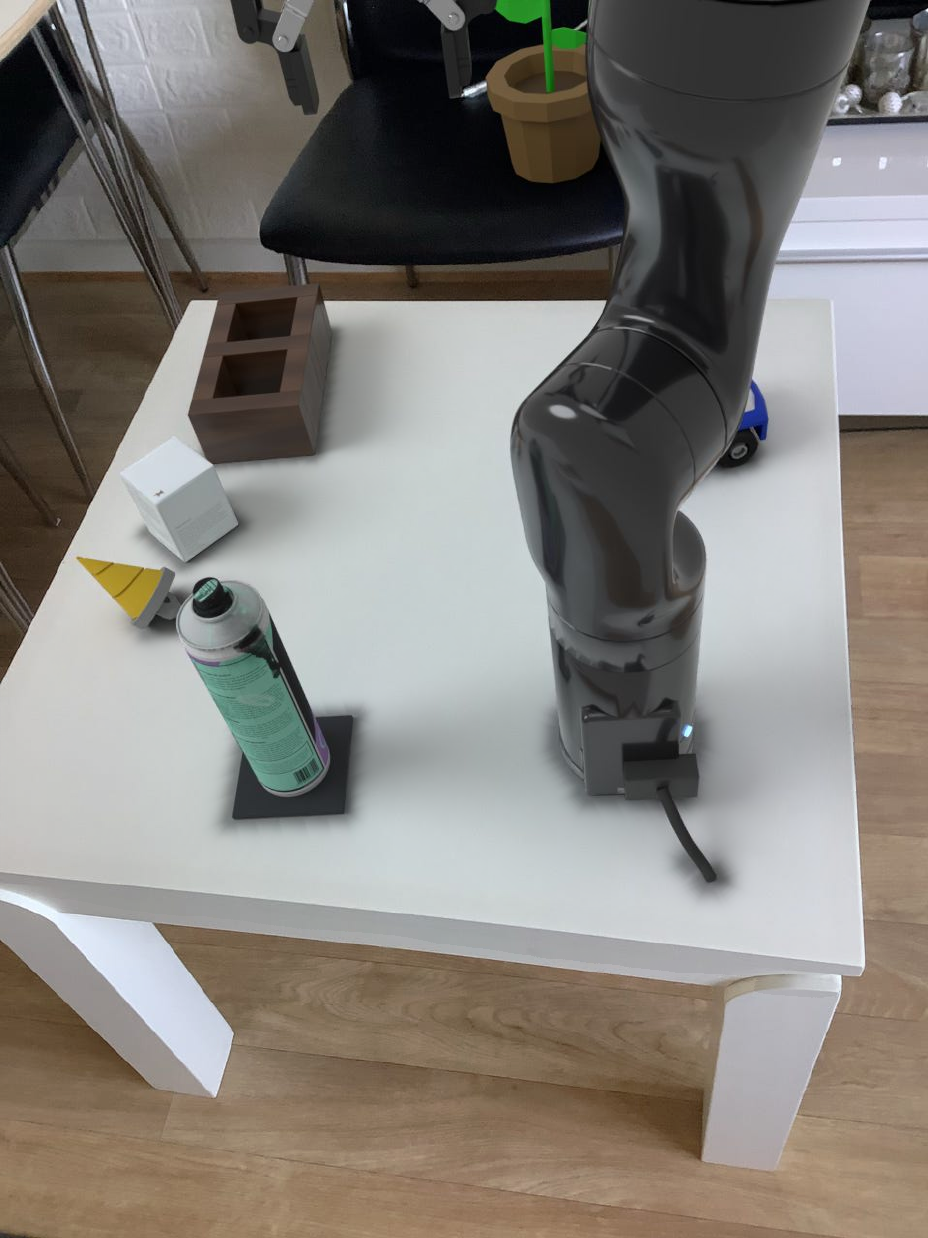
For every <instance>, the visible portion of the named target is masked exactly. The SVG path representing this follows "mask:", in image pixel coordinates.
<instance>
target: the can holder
mask: <svg viewBox="0 0 928 1238" xmlns="http://www.w3.org/2000/svg"><path fill="white" fill-rule="evenodd" d="M213 313H214V314H213V317H212V322H211V326H210V328H209V333H208V337H207V340H206V344H205V347H204V352H203V355H202V359H201V363H200V367H199V370H198V375H197V379H196V381H195V382H196V383H195V386H194V390H193V393H192V397H191V400H190V405H189V408H188V411H187V418H188V420H189V422H190V424H191V427H192V429H193V431H194V433H195V436H196V438H197V440H198V443H199V446H200V447H201V449H202V452H203V455H204V458H205V459H206V460H208V461H209V462H210V463H212V464H213V465H214V464H223V463H224V464H225V463H236V462H237V463H238V462H247V461H248V462H249V461H259V460H271V459H281V458H293V457H305V456H315V455H316V448H317V441H318V434H319V426H320V420H321V414H322V406H323V399H324V392H325V386H326V385H325V384H326V378H327V372H328V371H327V370H328V364H329V358H330V351H331V344H332V338H333V328H332V326H331V323H330V319H329V315H328V311H327V307H326V304H325V300H324V296H323V292H322V289H321V285H320V282H314V283H306V284H305V283H304V284H296V285H286V286H277V287H267V288H259V289H248V290H247V289H246V290H239V291H229V292H220V293H219V295H218V298H217V302H216V306H215V310H214V312H213Z"/></svg>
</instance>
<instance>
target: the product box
mask: <svg viewBox="0 0 928 1238" xmlns="http://www.w3.org/2000/svg"><path fill="white" fill-rule="evenodd" d="M118 475H119V477H120V479H121V480H122V483H123V485H124V487H125V488H126V490H127V492H128V494H129V495H130V497H131V499H132V501H133V503H134V505H135V507H136V509H137V510H138V512H139V514H140V516H141V518H142V520H143V522H144V523H145V525H146V528H147V530H148V532H149V533H150V534H151V535H152V536H153V537H154V538H155V539H157V540H158V541H159V542H160V543H161V544H162V545H163V546H165V547H166V548H167V549H168V550H169V551H170V552H172V553H173V555H175V557H178V559H180V560H181V561H182V562H183V563H186V562H188V561H190V560H191V559H193V558H194V557H196V556H197V555H198V554H200V553H201V552H203V551H204V550H205V549H207V548H208V547H210V546H211V545H213V544H214V543H215V542H216V541H218V540H219V539H221V538H222V537H223V536H225V535H226V534H228V533H230V532H231V531H232V530H234V529H235V528H236V527H237V526H238V525H239V521H238V520H237V517H236V515H235V512H234V510H233V508H232V505H231V503H230V501H229V498H228V497H227V496H228V495H227V494H226V492H225V489H224V487H223V484H222V481H221V480H220V478H219V477H220V476H219V475H218V473H217V470H216V467H215V465H214V464H212V463H210V462H209V461H208V460H207V459H206V457H205V456H202V454H200V453H199V452H198V451H197V450H195V449H194V448H193V447H191V446H190V445H189V444H188V443H186V442H185V441H183V440H182V439H181V438H180V437H178V436H177V435H174V436H173V437H171V438H169V439H168V440H166V441H165V442H163V443H161V444H160V445H158V446H156V448H154V449H153V450H151V451H150V452H148V453H147V454H145V455H144V456H143V457H141V458H140V459H138V460H136V461H135V462H133V463H132V464H130V465H129V466H128V467H126V468H124V469H123V470H122V471H119V473H118Z"/></svg>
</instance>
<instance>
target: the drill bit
mask: <svg viewBox="0 0 928 1238" xmlns="http://www.w3.org/2000/svg"><path fill="white" fill-rule="evenodd" d="M75 559H76V560H77V561H78V562H79V563H80V565H81V566H83V568H84V569H85V570H86V571H87V573H89V574H90V575H91V576H92V577H93V579H94V580H95V581H96V582H97V583H98V584H99V585H100V586H101V587H102V588H103V590H105V591H106V592H107V593H108V594H109V595H110V596H111V598H112V599H113V600H114V601H115V602H116V603H117V604H118V605H119V607H121V608H122V609H123V611H125V613H126V614H127V615H128V616H129V617H130V618H131V621H130V623H131V624H130V625H132V626H133V627H136V628H138V629H140V630H145V629H146V627H148V626H149V624H150V623H151V621H153V619H154V617H155V616H156V615H157V616H159V617H161V618H163V619H165V620H173V619H176V618H177V614H178V612H179V609H180V607H181V606H182V604H181V603H180V601H179V600H178V598H177V597H176V595H175V594H174V593H172V592H170V589H171V588H172V585H173V583H174V580H175V577H176V572H175V571H174V570H172V569H170V568H168V567H166V566H162V567H161V568H160V569H156V568H151V567H150V568H149V567H143V566H137V565H131V564H125V563H118V562H114V561H107V560H100V559H94V558H89V557H88V558H87V557H81V556H76V557H75Z"/></svg>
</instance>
